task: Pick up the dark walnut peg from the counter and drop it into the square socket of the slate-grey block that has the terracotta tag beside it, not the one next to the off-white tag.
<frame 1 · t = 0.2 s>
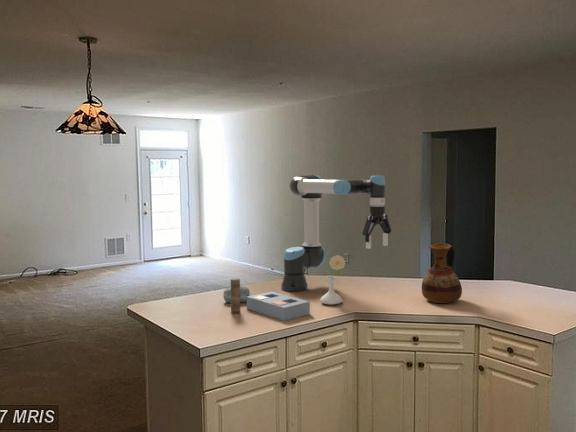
hand: (376, 247, 263), 28 cm above the counter, fingers open, 13 cm apart
socket block: (277, 311, 246), on the counter
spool: (236, 302, 265), on the counter
ceramic pitcher: (441, 301, 264), on the counter
flower in vase: (332, 304, 260), on the counter
peg: (235, 312, 245), on the counter
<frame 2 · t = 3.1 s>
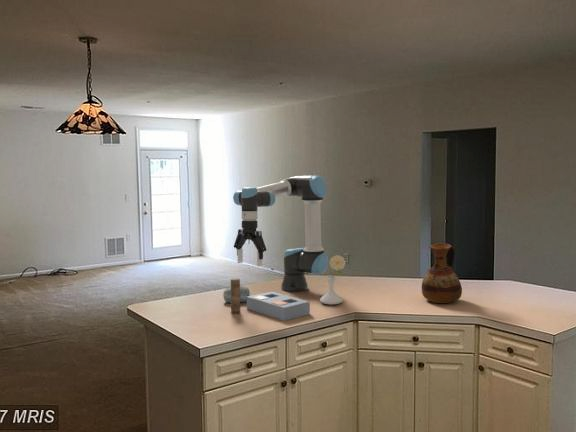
hand: (249, 264, 244), 23 cm above the counter, fingers open, 13 cm apart
nothing on the counter moved.
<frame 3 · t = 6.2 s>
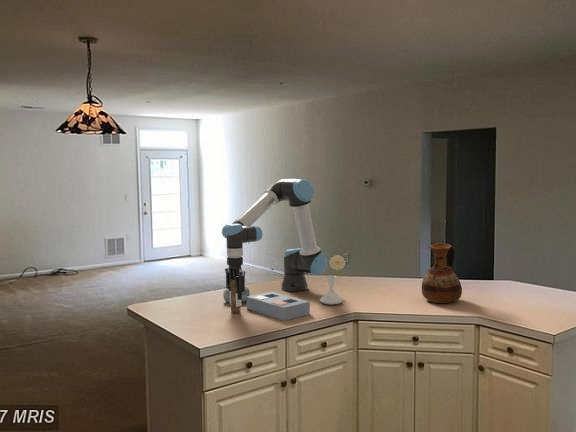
hand: (235, 304, 244), 4 cm above the counter, fingers closed on peg, 4 cm apart
peg: (235, 312, 245), on the counter, touching gripper
everything else where it was.
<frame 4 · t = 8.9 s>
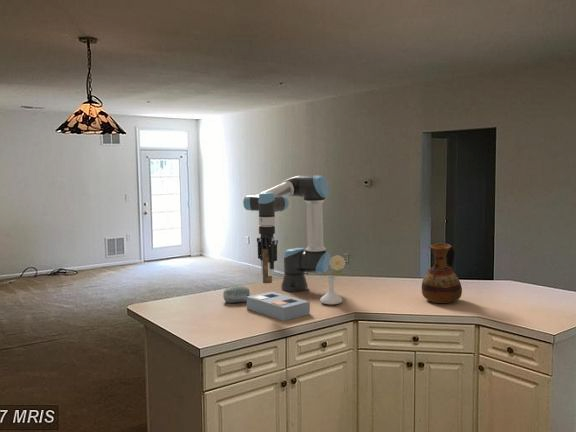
hand: (267, 274, 242), 18 cm above the counter, fingers closed on peg, 4 cm apart
peg: (267, 282, 242), point 15 cm above the counter, touching gripper
everything else where it was.
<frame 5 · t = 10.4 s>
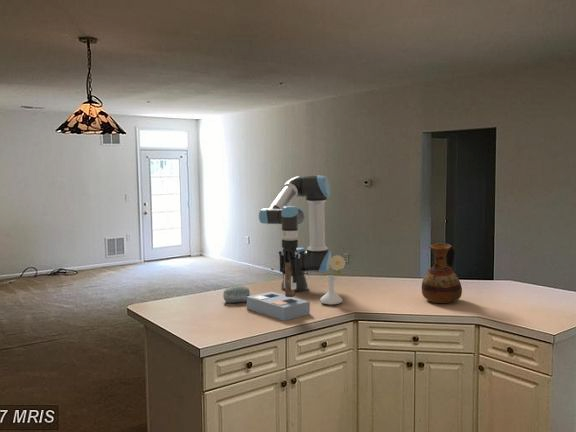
hand: (290, 288, 241), 12 cm above the counter, fingers closed on peg, 4 cm apart
peg: (290, 296, 241), point 8 cm above the counter, touching gripper
everything else where it was.
when the fingers open (7 cm above the counter, at t = 11.7 s): peg drops 3 cm, resting in socket block.
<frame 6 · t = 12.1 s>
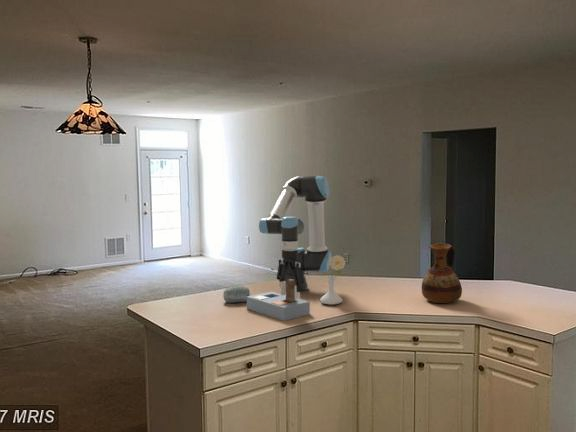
hand: (290, 296, 242), 8 cm above the counter, fingers open, 9 cm apart
peg: (290, 313, 242), resting in socket block
everything else where it was.
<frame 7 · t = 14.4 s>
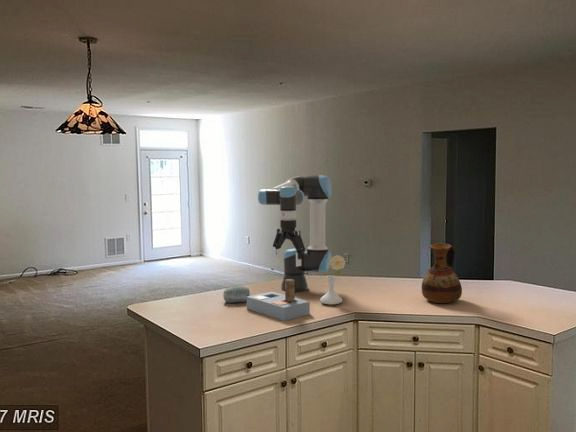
hand: (288, 264, 242), 23 cm above the counter, fingers open, 13 cm apart
nothing on the counter moved.
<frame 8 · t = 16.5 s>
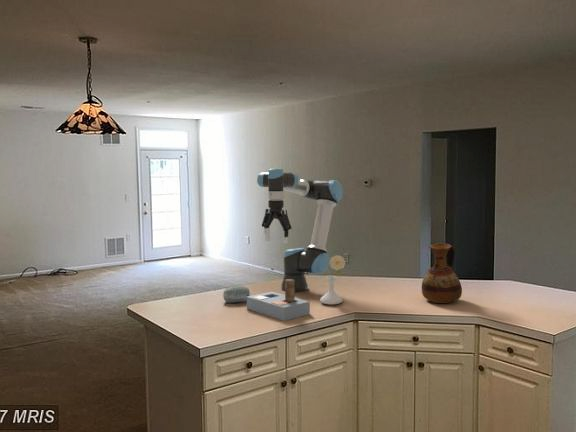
hand: (276, 242, 256), 32 cm above the counter, fingers open, 13 cm apart
nothing on the counter moved.
at the end: peg 0.2 cm from the target spot on the socket block, point 0.0 cm above the socket block's base; peg tilted 0°; the gripper is holding nothing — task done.
